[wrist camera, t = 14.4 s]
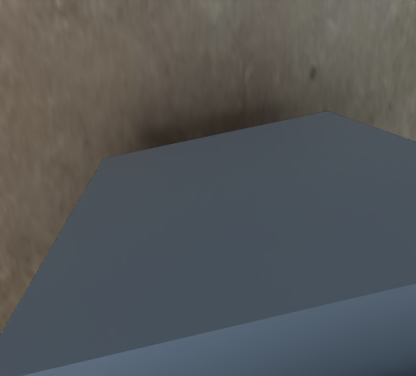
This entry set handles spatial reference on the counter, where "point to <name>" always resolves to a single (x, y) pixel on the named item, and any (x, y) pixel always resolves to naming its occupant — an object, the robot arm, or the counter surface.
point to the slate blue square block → (233, 260)
